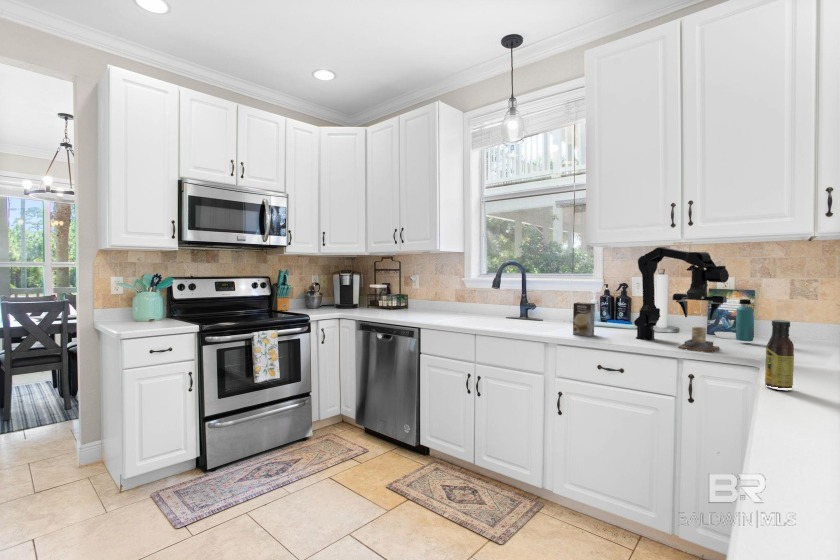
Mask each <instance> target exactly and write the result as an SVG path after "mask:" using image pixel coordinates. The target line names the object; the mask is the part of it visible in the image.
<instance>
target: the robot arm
mask: <svg viewBox="0 0 840 560" xmlns="http://www.w3.org/2000/svg"><path fill="white" fill-rule="evenodd" d="M664 258H669V259H675V260H680V261H684V262H685V263H687V264H688V265H690V266H689V267H688V268H686V271H690V272H691V279H690V280H691V283H690V287H689V288H688V290H686V293H681V292H680V293H678V292H677V293H673V295H672V301H675V303H678V304H679V306H680V308H681V310H682V311H683V312H682V313H683V315H684V317H685V318H688V313H689V311H688V307H689V306H688V300H689V301H690V300H692V301H693V300H694V301H709V302H711V301H712V302H711V303H710V312H709V319H710V320H713V318H714V316H715V313H716V311H717V310H718V308H719V306H720V305H724V304H725V303H727V301H728V298H727V296H726V295H722V294H720V295H719V294H718V295H717V294H716V295H712V296H708V286H709V284H708V283H722V284H723V283H727V282H728V280H729V277H730V274H729V271H728V269H727V268H726V265H718V266H717V265H716V264H715V262H714V261H713V260H712V258H711V255H710V253H708V252H706V251H685V250H678V249H674V248H668V247H665V246H664V247H663V246H657V247H655V248H654V249H652V250H651V251H649V252H648V253H645V254H644V255H641V256H640V257H639V258H638V259H637V265H638V270H639V272H640V274H641V276H642V277H641V278H642V279H641V280H642V283H641V284H642V306H641V307H640V309H639V316H638V317H637V318H636V319H635V320H634V321H633V323H634V326H635V327H637V328H636V330H637V331H636V336H635V339H640V340H646V341H651V340H654V339H655V329H654V327H657V323H658V322H659V320H660V318H661V309H660V308H659V307H657V306H656V304H655V274H656V271H657V269H658V264H659V263H660V262H662V261H663V259H664Z"/></svg>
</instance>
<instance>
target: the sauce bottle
mask: <svg viewBox="0 0 840 560" xmlns="http://www.w3.org/2000/svg"><path fill="white" fill-rule="evenodd" d="M771 326H772V327H771V328H772V330H771V332H772V333H771V336H770V338H769V340H768V342H767V344H766V346H765V369H764V370H765V372H764V375H765V376H764V377H765V378H764V382H765V386H766V385H767V386H771V387H778V388H792V389H793V386H794V369H795V368H794V366H795V365H794V364H795V363H794V362H795V353H794V350H795V348H794V347H795V345H794V343H793V341H792V340H791V338H790V328H791V321H789V320H785V319H772V320H771Z"/></svg>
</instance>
